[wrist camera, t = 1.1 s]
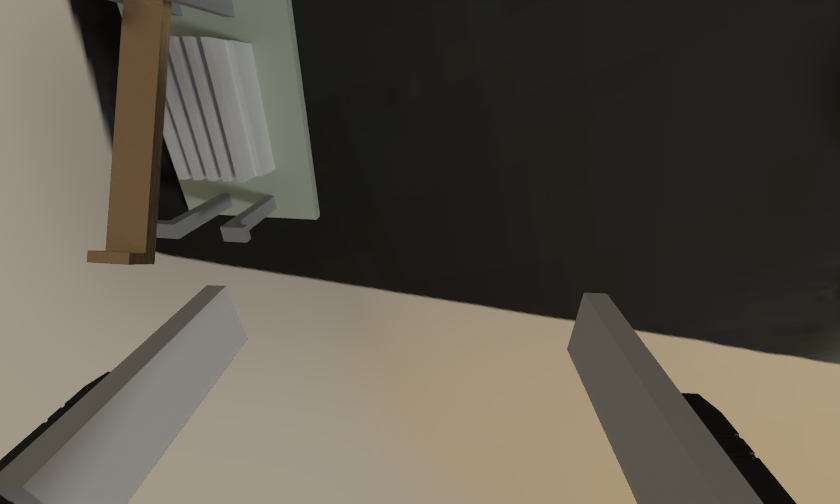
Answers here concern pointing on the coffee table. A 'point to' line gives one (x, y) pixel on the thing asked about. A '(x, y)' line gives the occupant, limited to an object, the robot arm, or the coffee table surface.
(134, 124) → the strap
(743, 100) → the coffee table surface
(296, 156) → the heatsink fixture
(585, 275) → the coffee table surface
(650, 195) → the coffee table surface
